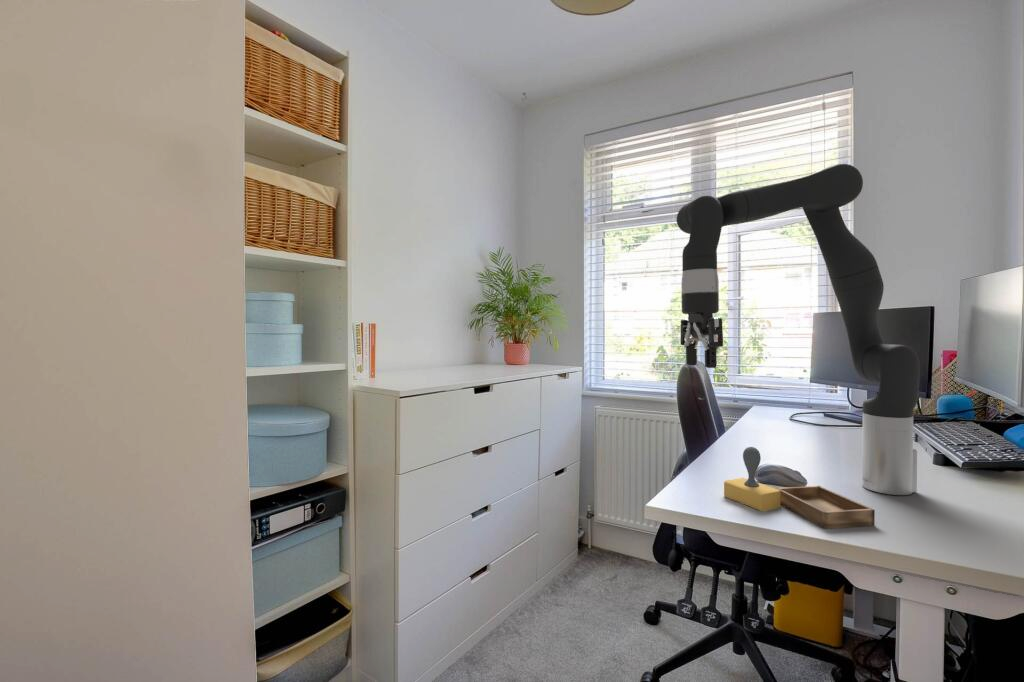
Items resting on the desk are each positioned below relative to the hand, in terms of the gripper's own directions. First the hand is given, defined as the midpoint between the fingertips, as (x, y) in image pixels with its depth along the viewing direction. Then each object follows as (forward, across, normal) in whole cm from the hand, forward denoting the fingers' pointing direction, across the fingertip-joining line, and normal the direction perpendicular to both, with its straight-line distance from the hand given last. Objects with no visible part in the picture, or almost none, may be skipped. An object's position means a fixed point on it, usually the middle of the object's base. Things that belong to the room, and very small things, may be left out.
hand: (700, 366), depth 106 cm
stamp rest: (+29, -11, -20) cm, 37 cm away
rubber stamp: (+30, -3, -10) cm, 31 cm away
